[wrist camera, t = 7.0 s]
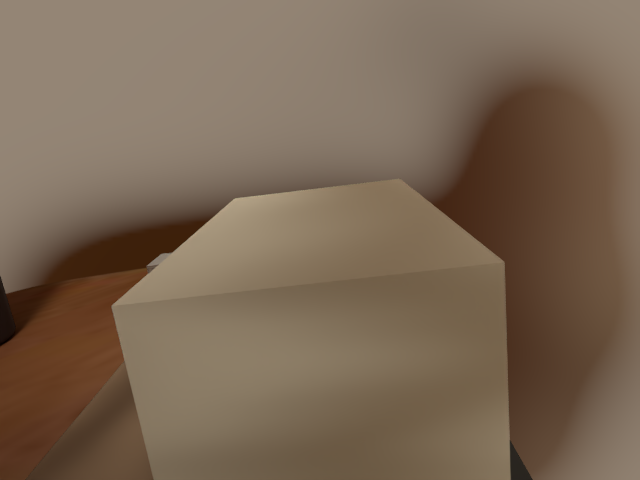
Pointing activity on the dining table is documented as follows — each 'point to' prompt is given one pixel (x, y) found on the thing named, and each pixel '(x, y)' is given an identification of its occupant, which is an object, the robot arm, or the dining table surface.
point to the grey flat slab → (101, 440)
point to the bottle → (5, 317)
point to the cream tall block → (322, 343)
